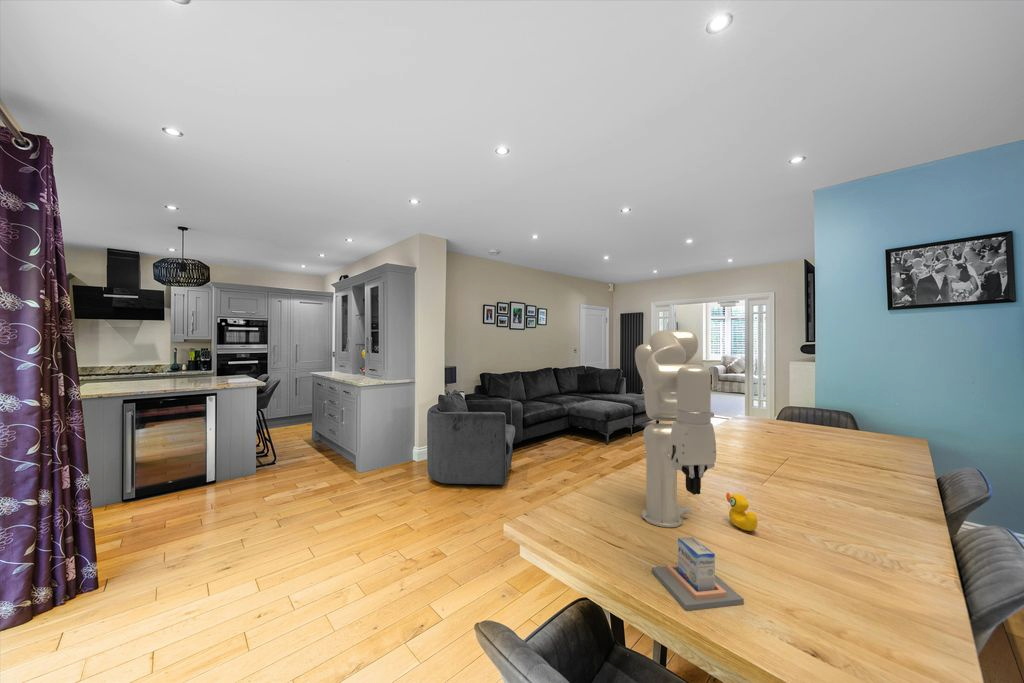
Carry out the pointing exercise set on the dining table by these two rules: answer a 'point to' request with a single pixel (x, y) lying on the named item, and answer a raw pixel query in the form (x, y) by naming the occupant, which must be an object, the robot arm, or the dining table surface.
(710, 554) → the medicine box
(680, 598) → the base plate
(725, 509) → the dining table surface
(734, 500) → the duckling
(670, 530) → the dining table surface
